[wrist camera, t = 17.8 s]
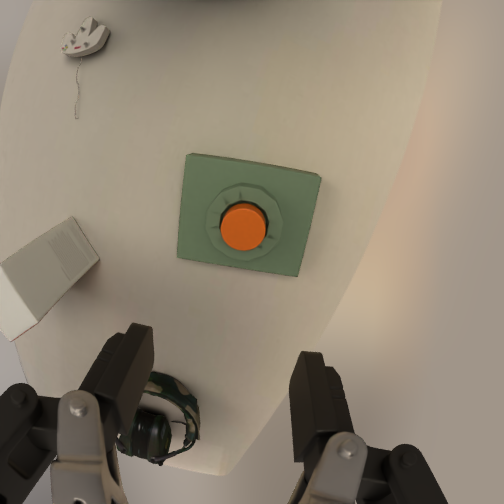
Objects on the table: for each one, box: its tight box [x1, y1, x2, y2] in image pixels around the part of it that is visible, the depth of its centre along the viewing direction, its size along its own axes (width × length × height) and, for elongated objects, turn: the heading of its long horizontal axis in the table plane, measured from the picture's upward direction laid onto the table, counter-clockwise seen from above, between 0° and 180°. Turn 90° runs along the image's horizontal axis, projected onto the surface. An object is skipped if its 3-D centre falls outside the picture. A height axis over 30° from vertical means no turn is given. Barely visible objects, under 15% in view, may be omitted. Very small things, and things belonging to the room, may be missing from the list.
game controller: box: [61, 16, 110, 119], centre depth 20 cm, size 6×12×3 cm, turn 10°
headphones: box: [115, 372, 200, 466], centre depth 37 cm, size 13×13×20 cm
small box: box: [0, 217, 99, 342], centre depth 24 cm, size 8×6×13 cm
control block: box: [177, 153, 321, 277], centre depth 26 cm, size 12×10×4 cm
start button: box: [221, 203, 266, 251], centre depth 24 cm, size 4×4×2 cm
